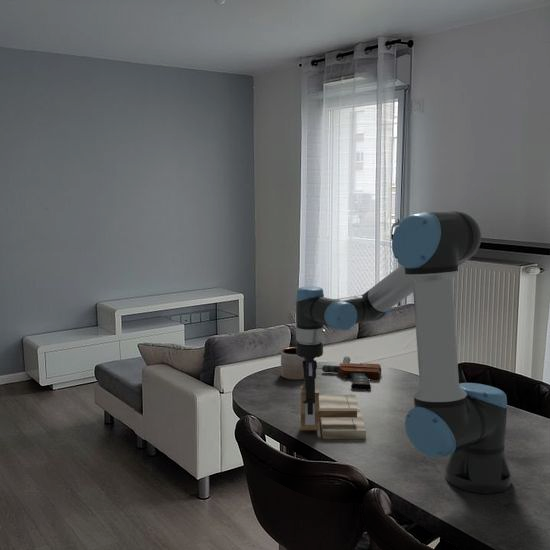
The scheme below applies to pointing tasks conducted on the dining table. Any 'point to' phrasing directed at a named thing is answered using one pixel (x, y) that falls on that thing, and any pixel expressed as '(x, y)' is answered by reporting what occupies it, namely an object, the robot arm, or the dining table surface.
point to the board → (341, 426)
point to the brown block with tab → (323, 411)
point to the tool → (356, 372)
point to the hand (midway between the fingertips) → (309, 419)
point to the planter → (291, 364)
